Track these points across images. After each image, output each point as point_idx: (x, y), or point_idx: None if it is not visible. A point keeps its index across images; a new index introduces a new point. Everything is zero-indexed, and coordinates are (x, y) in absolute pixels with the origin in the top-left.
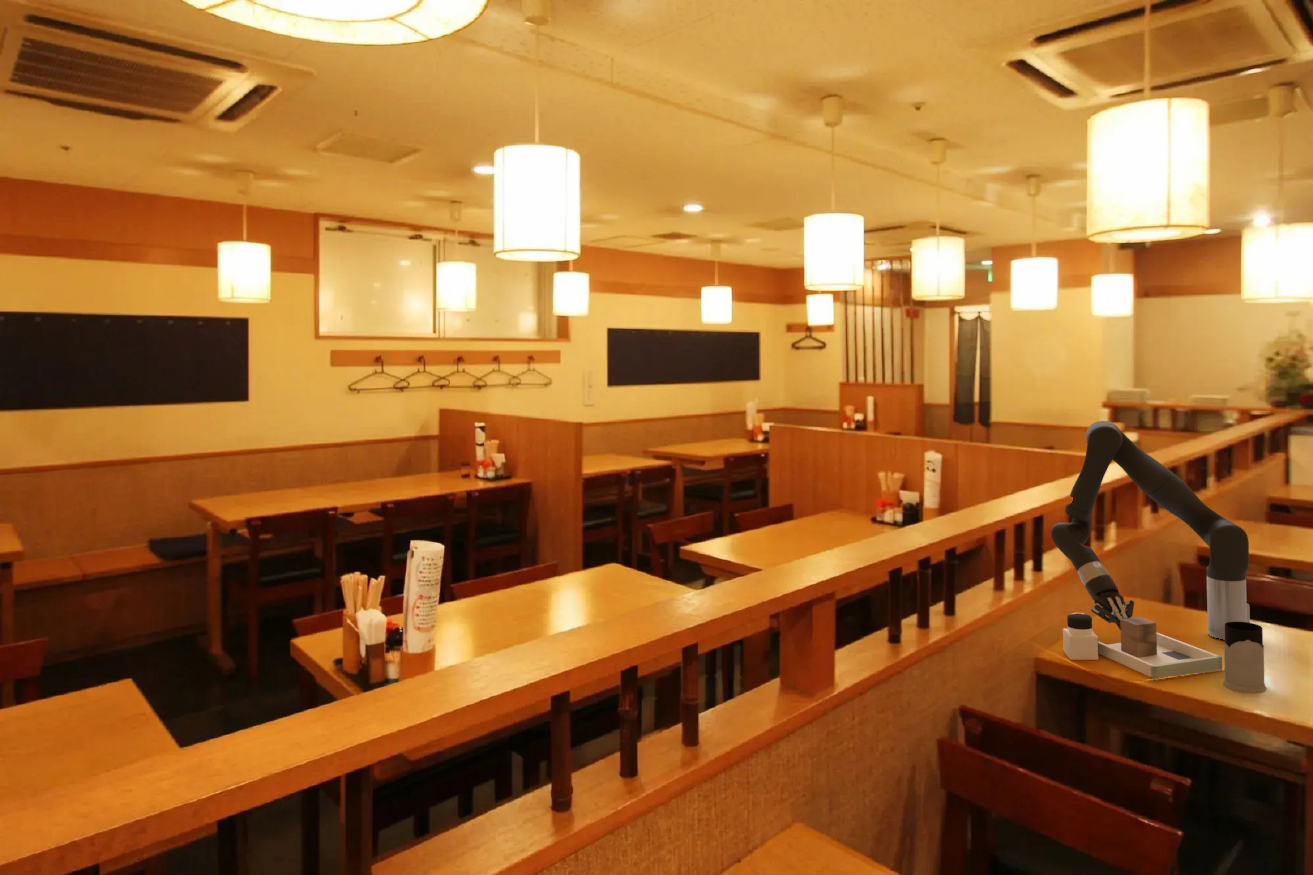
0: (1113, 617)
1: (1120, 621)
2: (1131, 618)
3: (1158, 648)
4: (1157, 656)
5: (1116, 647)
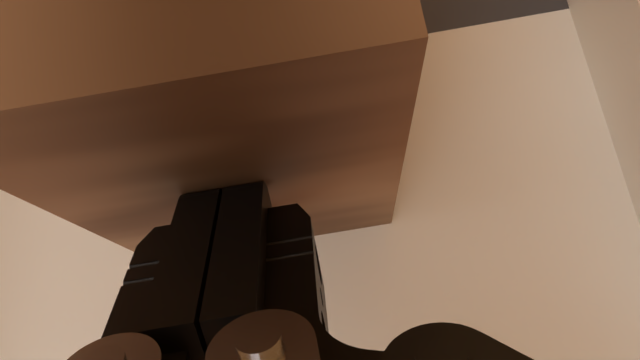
0: (451, 345)
1: (420, 69)
2: (157, 23)
3: (2, 213)
4: None
5: (386, 331)
